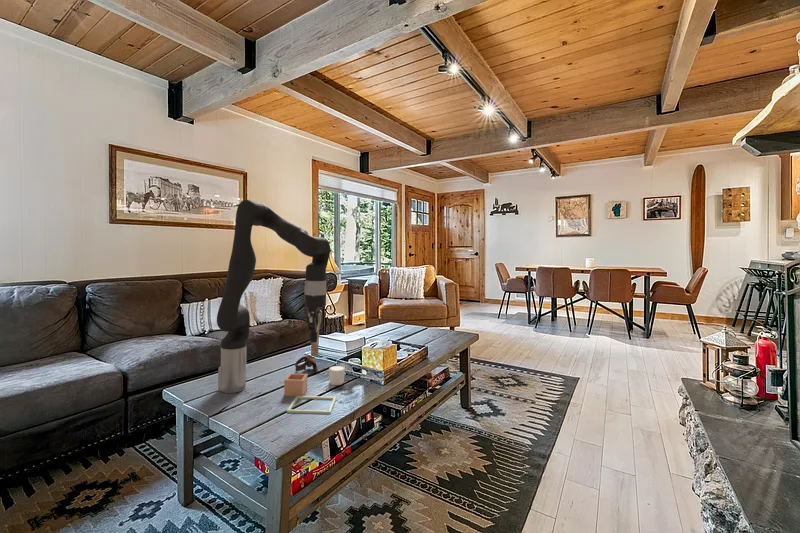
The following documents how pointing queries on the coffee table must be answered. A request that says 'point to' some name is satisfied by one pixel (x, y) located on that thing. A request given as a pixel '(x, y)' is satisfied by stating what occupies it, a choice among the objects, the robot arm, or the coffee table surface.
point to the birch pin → (315, 344)
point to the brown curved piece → (308, 362)
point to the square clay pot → (295, 384)
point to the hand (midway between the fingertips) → (314, 340)
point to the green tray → (311, 410)
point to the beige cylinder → (336, 375)
